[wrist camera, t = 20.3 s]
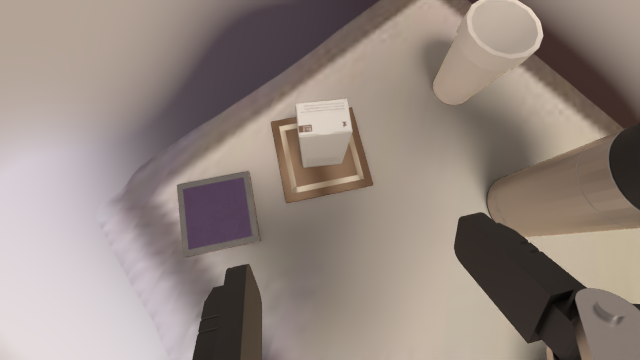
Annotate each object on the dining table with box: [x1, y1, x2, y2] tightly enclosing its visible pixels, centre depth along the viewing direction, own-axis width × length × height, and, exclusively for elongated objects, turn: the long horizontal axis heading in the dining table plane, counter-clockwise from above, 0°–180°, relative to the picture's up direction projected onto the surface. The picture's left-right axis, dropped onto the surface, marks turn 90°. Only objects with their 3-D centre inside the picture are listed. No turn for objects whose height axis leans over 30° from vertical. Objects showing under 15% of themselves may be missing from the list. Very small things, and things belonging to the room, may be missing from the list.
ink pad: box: [177, 171, 260, 257], centre depth 38 cm, size 10×10×1 cm
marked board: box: [271, 107, 373, 203], centre depth 42 cm, size 13×13×1 cm
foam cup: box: [433, 0, 543, 105], centre depth 40 cm, size 10×9×13 cm
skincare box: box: [295, 99, 353, 168], centre depth 35 cm, size 6×4×12 cm
